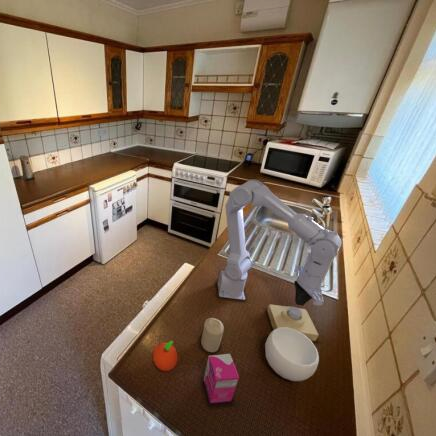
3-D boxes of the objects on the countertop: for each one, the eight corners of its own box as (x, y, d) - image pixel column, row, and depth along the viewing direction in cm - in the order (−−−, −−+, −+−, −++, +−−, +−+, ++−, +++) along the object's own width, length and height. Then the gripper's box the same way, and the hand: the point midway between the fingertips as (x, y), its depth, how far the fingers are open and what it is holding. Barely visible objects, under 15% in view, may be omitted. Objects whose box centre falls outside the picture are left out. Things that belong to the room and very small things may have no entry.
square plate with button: (275, 334, 77) (279, 324, 74) (266, 309, 85) (270, 300, 83) (315, 341, 75) (321, 330, 73) (302, 315, 84) (307, 305, 81)
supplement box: (202, 379, 65) (208, 354, 59) (223, 377, 65) (231, 352, 60) (209, 404, 60) (216, 379, 54) (231, 402, 60) (241, 377, 54)
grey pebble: (289, 319, 77) (291, 314, 76) (286, 310, 80) (287, 305, 79) (301, 320, 76) (303, 316, 75) (297, 311, 79) (299, 307, 78)
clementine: (162, 344, 73) (163, 329, 70) (182, 357, 70) (184, 342, 66) (147, 366, 67) (148, 351, 64) (168, 381, 64) (170, 366, 61)
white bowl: (308, 400, 61) (321, 379, 56) (256, 372, 66) (265, 352, 62) (309, 359, 70) (321, 338, 65) (264, 338, 76) (272, 318, 71)
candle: (219, 338, 75) (225, 317, 70) (218, 355, 71) (224, 333, 66) (202, 333, 77) (206, 312, 72) (199, 349, 72) (204, 327, 67)
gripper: (343, 290, 62) (323, 325, 69) (318, 256, 74) (303, 288, 81) (313, 287, 63) (297, 321, 70) (294, 254, 75) (281, 285, 82)
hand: (299, 303), depth 75 cm, fingers closed
